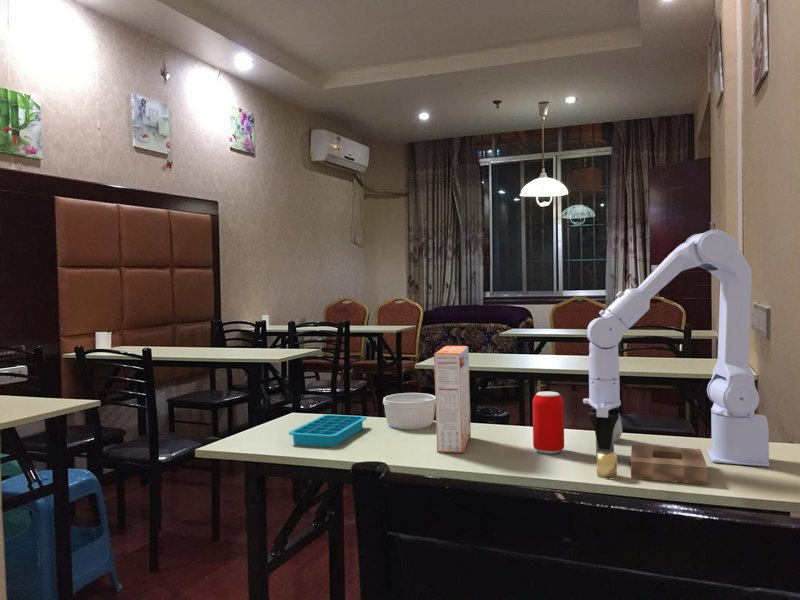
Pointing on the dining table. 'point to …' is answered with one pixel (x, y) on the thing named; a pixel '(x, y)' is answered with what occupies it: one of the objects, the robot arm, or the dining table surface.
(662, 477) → the hole block
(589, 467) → the dining table surface
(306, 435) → the ice cube tray
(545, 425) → the beverage can
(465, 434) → the cracker box
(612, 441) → the long pin
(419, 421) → the ramekin
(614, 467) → the short pin
